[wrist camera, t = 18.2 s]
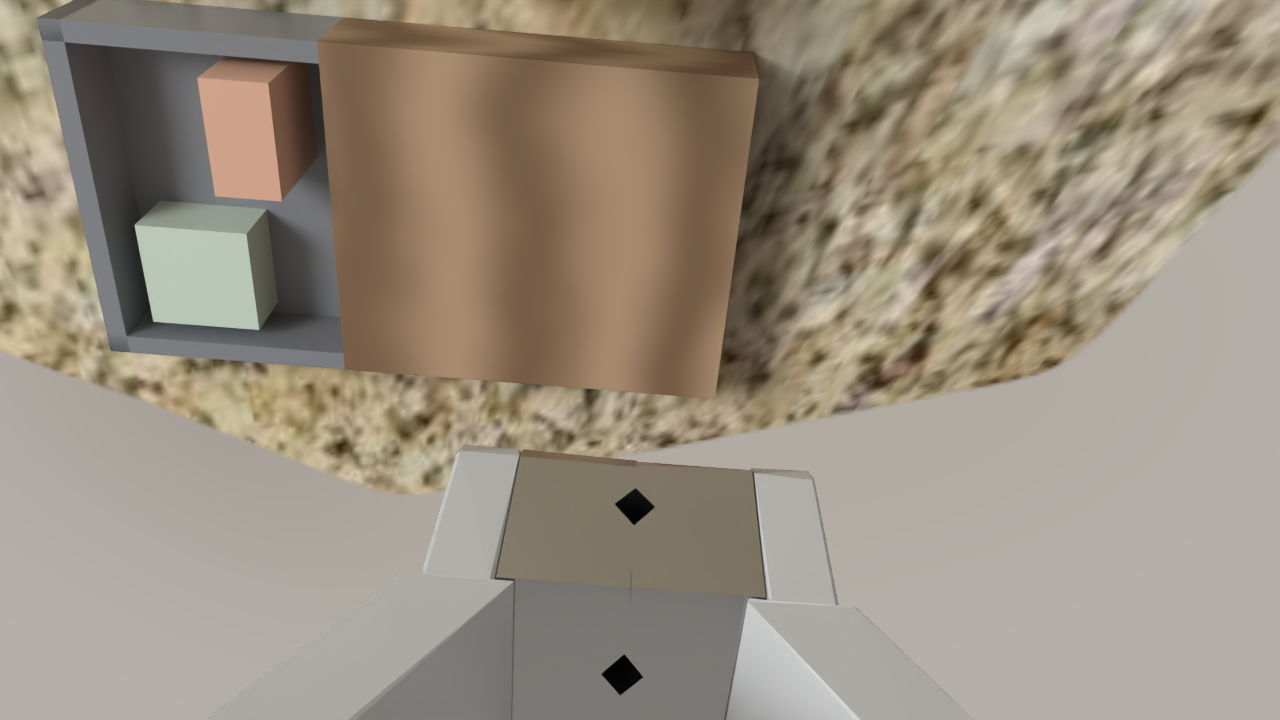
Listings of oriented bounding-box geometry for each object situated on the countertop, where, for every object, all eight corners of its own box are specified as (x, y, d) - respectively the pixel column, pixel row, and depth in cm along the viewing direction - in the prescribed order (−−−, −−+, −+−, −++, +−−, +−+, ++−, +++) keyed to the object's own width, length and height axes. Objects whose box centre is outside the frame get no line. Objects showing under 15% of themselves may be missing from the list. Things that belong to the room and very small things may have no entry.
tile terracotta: (268, 83, 37) (197, 77, 37) (281, 201, 39) (215, 196, 39) (306, 48, 41) (241, 43, 41) (316, 158, 43) (255, 153, 43)
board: (752, 52, 41) (759, 79, 38) (712, 356, 48) (714, 398, 45) (343, 17, 41) (317, 41, 38) (365, 328, 48) (344, 369, 45)
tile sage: (134, 225, 42) (160, 200, 44) (153, 321, 45) (176, 294, 47) (246, 234, 42) (266, 209, 44) (259, 330, 45) (278, 302, 47)
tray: (343, 17, 41) (317, 41, 38) (365, 328, 48) (344, 369, 45) (83, -5, 40) (37, 17, 37) (145, 311, 48) (110, 350, 45)
